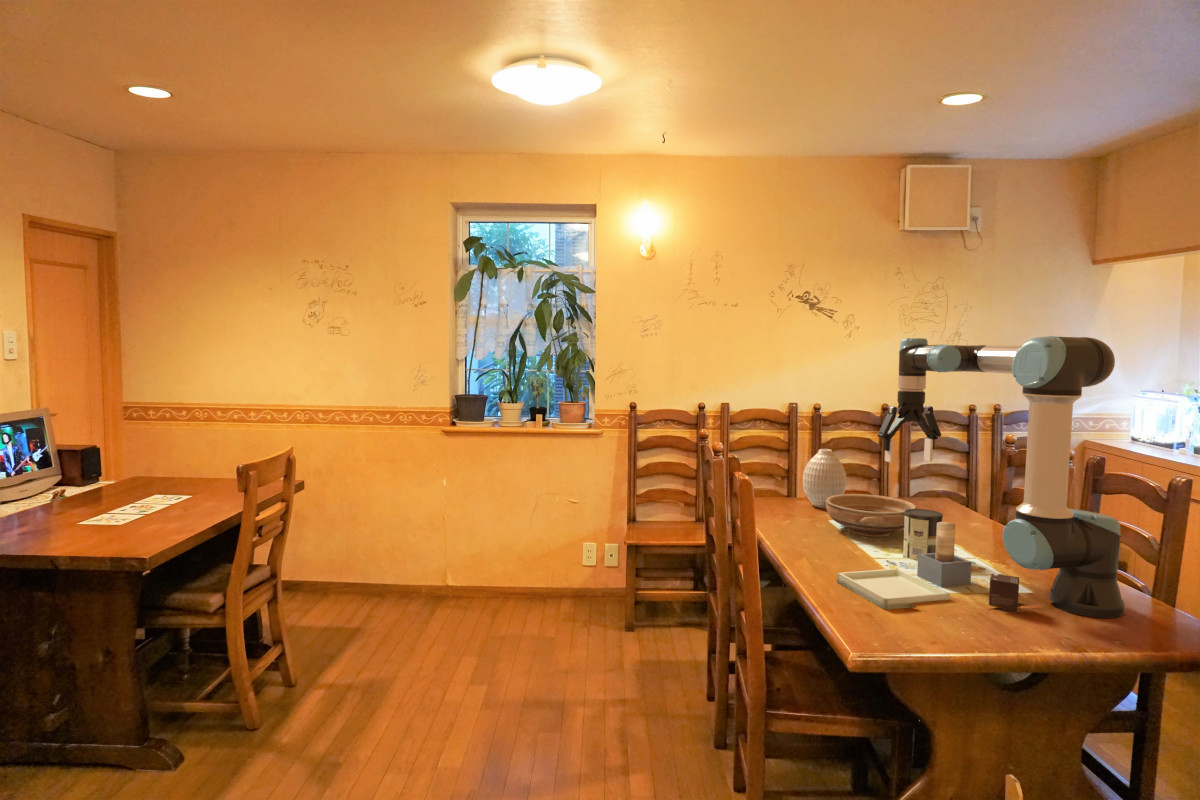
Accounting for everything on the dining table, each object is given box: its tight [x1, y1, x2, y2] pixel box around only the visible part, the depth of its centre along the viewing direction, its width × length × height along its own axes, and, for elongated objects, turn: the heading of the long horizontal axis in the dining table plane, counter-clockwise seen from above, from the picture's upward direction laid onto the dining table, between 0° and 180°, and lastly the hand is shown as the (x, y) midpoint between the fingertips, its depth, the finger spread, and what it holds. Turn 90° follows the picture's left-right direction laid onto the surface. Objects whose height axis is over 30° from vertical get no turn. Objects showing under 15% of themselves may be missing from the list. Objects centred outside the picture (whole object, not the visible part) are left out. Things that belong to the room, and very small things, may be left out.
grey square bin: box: [916, 553, 973, 588], centre depth 190 cm, size 9×9×7 cm
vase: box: [802, 448, 847, 509], centre depth 280 cm, size 16×16×22 cm
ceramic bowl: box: [825, 493, 918, 538], centre depth 242 cm, size 37×29×10 cm
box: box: [988, 573, 1020, 614], centre depth 173 cm, size 6×6×7 cm
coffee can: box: [902, 508, 944, 562], centre depth 211 cm, size 10×10×14 cm
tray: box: [836, 567, 951, 611], centre depth 183 cm, size 20×18×3 cm
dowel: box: [935, 521, 956, 563], centre depth 189 cm, size 4×4×15 cm
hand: (908, 461), depth 216 cm, fingers open, 13 cm apart
